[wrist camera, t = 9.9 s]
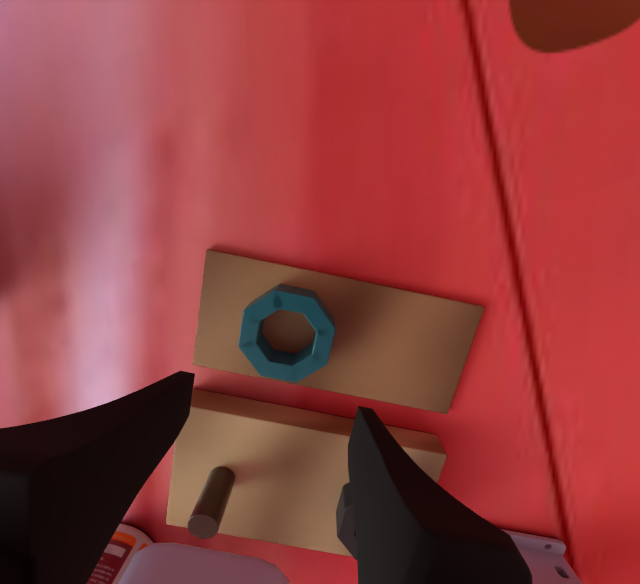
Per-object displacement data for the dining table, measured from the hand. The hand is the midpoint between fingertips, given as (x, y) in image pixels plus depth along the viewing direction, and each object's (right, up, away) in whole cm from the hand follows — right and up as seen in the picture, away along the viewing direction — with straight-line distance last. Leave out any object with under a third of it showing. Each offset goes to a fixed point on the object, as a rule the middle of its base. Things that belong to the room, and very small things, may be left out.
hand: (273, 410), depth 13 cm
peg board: (+1, -8, +10) cm, 13 cm away
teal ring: (0, +3, +7) cm, 7 cm away
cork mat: (+3, +2, +7) cm, 8 cm away
